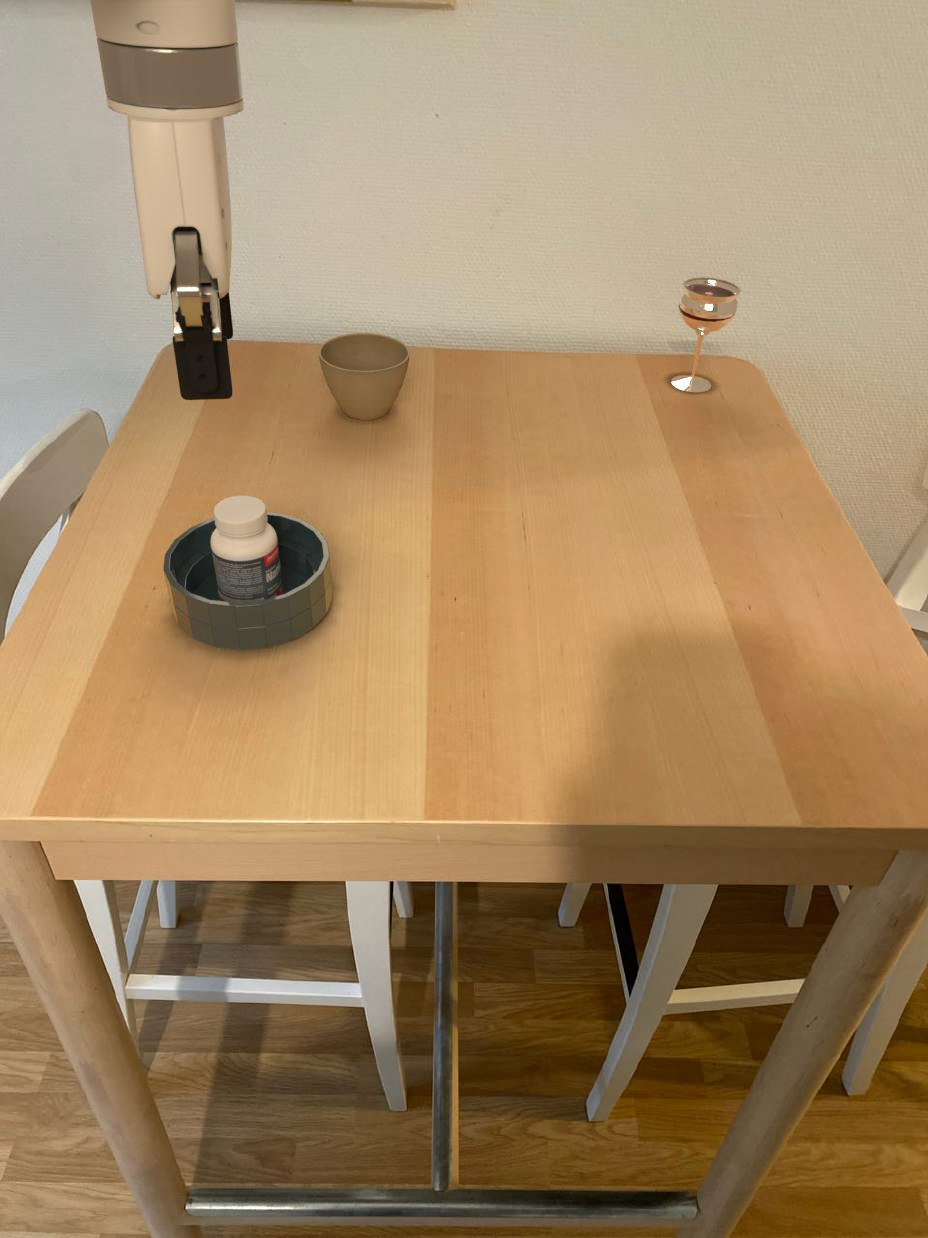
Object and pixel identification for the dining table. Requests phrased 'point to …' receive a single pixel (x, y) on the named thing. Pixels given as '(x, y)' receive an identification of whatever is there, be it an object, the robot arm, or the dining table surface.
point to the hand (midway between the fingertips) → (209, 366)
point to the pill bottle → (245, 551)
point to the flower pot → (364, 372)
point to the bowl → (252, 620)
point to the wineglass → (705, 319)
